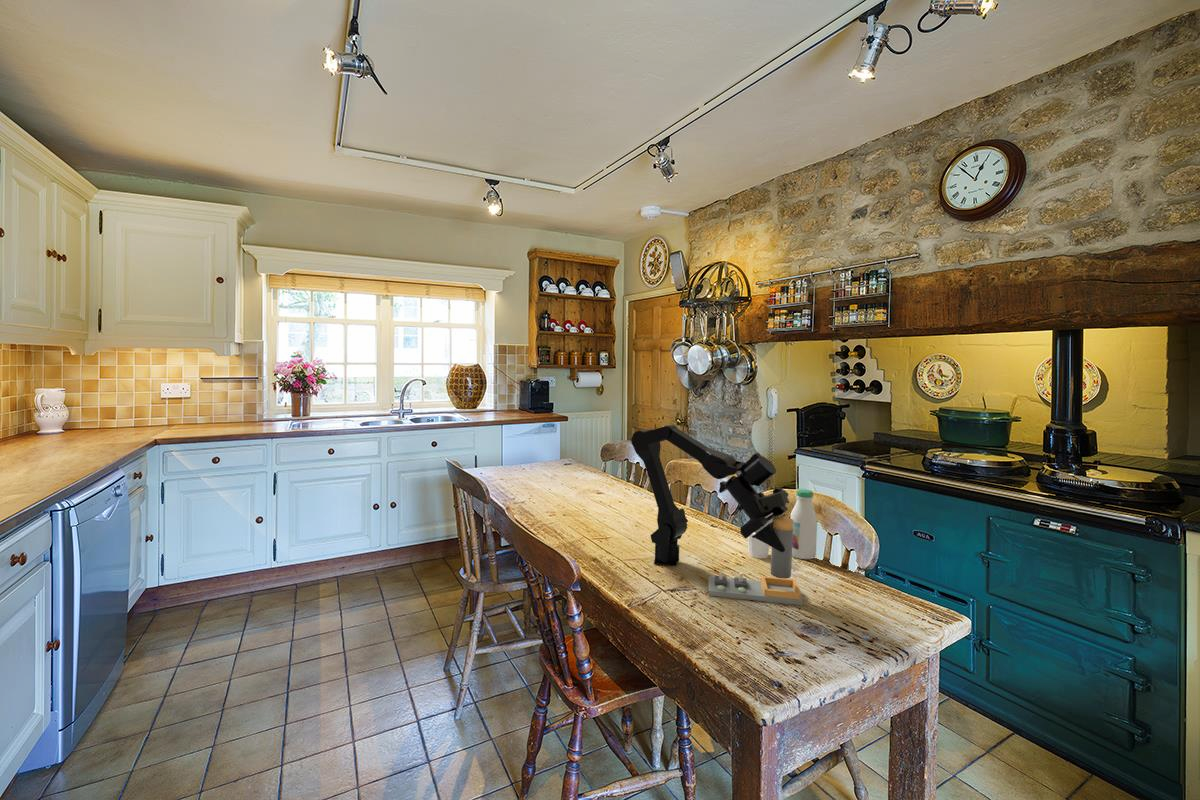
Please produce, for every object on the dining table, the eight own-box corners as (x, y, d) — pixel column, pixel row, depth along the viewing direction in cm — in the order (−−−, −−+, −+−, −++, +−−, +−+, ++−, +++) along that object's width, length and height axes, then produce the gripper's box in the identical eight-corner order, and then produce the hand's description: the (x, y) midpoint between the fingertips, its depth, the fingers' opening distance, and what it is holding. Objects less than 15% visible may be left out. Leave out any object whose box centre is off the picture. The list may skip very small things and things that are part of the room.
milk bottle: (814, 552, 158) (817, 488, 156) (816, 561, 150) (819, 494, 149) (788, 549, 160) (790, 486, 159) (788, 558, 153) (791, 492, 152)
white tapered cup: (771, 560, 151) (772, 537, 150) (747, 558, 152) (748, 535, 152) (768, 552, 158) (769, 529, 157) (745, 550, 159) (746, 528, 159)
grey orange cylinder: (768, 575, 127) (771, 520, 126) (772, 569, 131) (775, 515, 130) (789, 580, 125) (791, 523, 123) (792, 573, 129) (795, 518, 128)
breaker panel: (708, 595, 127) (709, 579, 127) (708, 580, 136) (708, 565, 136) (802, 605, 123) (803, 588, 123) (795, 589, 132) (796, 573, 131)
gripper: (754, 485, 121) (800, 541, 115) (781, 472, 136) (823, 522, 130) (722, 511, 127) (764, 566, 121) (752, 496, 141) (790, 545, 135)
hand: (787, 548), depth 126 cm, fingers closed on grey orange cylinder, 5 cm apart
